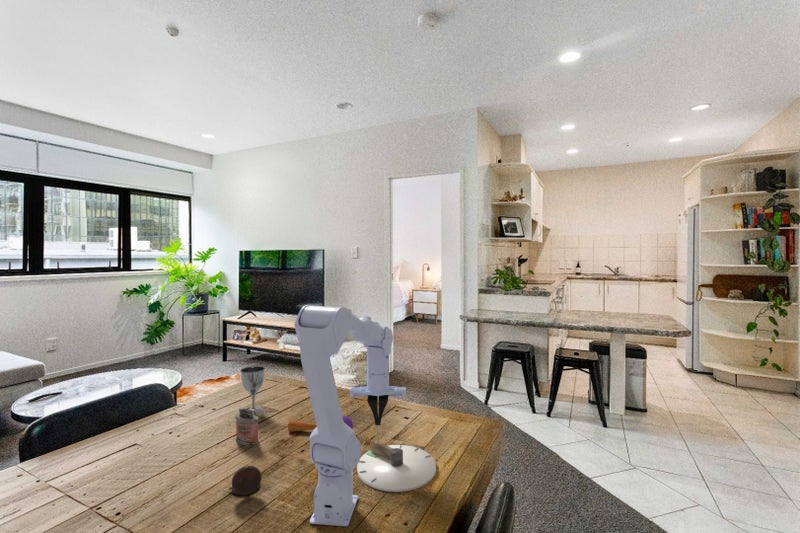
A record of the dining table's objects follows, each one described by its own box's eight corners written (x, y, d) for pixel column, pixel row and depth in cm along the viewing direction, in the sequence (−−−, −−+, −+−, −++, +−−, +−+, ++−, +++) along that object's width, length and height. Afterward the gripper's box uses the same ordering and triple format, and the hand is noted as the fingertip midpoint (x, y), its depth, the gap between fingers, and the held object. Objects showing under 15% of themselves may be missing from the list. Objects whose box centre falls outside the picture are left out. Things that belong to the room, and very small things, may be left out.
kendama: (294, 414, 123) (354, 413, 119) (294, 434, 122) (355, 433, 118) (285, 418, 117) (348, 417, 113) (285, 439, 116) (349, 439, 112)
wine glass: (240, 409, 136) (240, 367, 135) (264, 405, 139) (263, 364, 139) (241, 418, 129) (241, 373, 128) (266, 413, 132) (266, 370, 132)
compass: (258, 478, 94) (258, 448, 94) (261, 496, 87) (261, 464, 87) (222, 486, 91) (222, 455, 90) (222, 506, 83) (222, 472, 83)
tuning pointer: (405, 462, 98) (405, 451, 98) (397, 467, 96) (397, 455, 96) (376, 448, 105) (376, 438, 105) (367, 453, 103) (367, 442, 103)
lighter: (232, 441, 112) (232, 407, 112) (242, 436, 115) (242, 403, 115) (252, 447, 109) (251, 412, 108) (261, 442, 112) (261, 408, 111)
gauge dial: (435, 494, 87) (435, 489, 87) (348, 488, 89) (348, 483, 89) (436, 450, 107) (436, 446, 107) (366, 446, 109) (366, 442, 109)
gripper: (405, 367, 104) (405, 417, 105) (351, 367, 104) (351, 417, 104) (406, 375, 97) (406, 428, 97) (348, 375, 97) (348, 429, 97)
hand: (378, 423), depth 100 cm, fingers closed
